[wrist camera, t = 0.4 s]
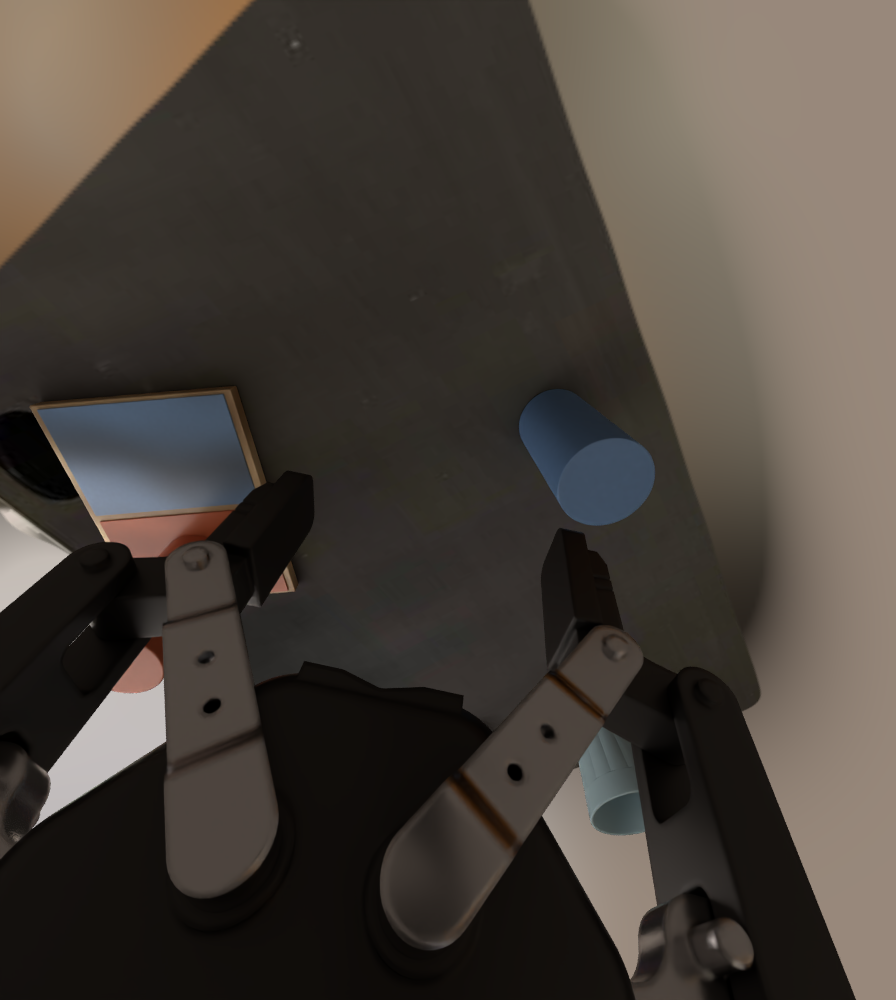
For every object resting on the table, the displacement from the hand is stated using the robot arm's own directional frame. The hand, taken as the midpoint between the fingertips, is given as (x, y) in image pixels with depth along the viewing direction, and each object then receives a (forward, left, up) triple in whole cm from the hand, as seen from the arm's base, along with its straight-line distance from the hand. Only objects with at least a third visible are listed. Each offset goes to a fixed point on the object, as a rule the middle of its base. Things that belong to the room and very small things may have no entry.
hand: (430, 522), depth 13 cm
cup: (+36, +15, -17) cm, 43 cm away
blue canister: (+3, +9, -17) cm, 19 cm away
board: (+7, -19, -17) cm, 27 cm away
